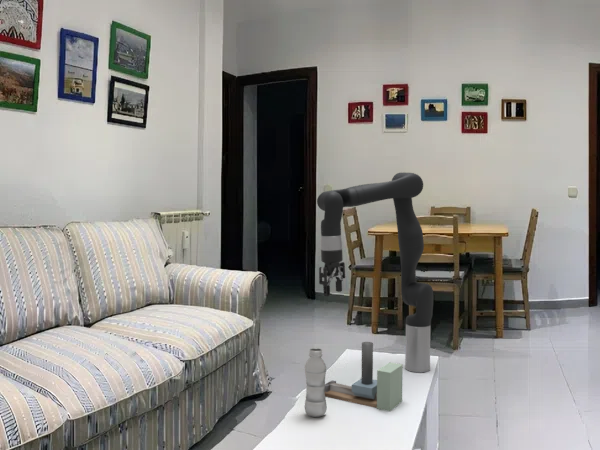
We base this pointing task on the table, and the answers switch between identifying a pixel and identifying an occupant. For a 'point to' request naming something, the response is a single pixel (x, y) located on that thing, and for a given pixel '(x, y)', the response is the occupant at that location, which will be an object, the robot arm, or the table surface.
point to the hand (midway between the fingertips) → (333, 293)
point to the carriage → (366, 374)
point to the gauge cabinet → (389, 386)
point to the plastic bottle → (315, 384)
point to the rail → (347, 394)
